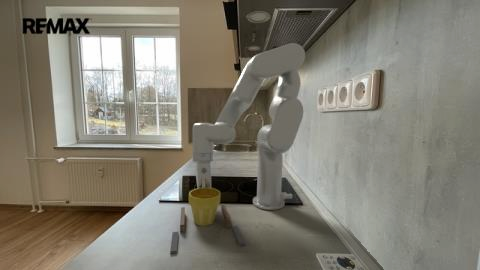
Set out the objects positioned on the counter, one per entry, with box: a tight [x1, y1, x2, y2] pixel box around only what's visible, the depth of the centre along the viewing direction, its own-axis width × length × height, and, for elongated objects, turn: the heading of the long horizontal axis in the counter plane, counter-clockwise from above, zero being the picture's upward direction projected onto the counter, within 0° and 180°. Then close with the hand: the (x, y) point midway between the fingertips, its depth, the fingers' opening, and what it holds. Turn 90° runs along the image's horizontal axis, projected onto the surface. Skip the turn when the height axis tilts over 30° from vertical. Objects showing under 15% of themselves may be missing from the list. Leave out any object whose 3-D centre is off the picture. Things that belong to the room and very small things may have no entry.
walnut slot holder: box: [179, 203, 232, 234], centre depth 73 cm, size 15×12×2 cm
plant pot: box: [188, 187, 222, 227], centre depth 72 cm, size 10×10×10 cm
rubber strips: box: [169, 225, 246, 255], centre depth 62 cm, size 20×9×1 cm, turn 103°
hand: (202, 204), depth 82 cm, fingers closed
